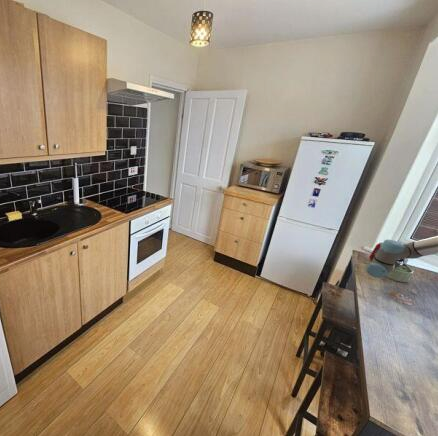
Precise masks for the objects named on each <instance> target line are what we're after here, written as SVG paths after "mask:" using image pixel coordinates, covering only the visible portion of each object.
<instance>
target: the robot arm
mask: <svg viewBox="0 0 438 436" xmlns="http://www.w3.org/2000/svg"><path fill="white" fill-rule="evenodd" d="M381 243H382V245H381V246H380V248H379V250H378V252H377V253H376V254H375V256H374V258H373V260H371V261H370V263H368V264H367V266H366V268H365V270H366V273H367V274H368V275H369V276H370V277H373V278H375V279H382V278H384V277H385V276H386V275H387V274H388V273H389V272H391V271H392V270H393V269H395V268H396V267H399V266H400V267H402V268H403V269H406V267H407V266H409V265H408V262H409V259H411V260H412V259H413V260H414V259H420V258H421V257H426V256H433V255H437V254H438V235H436V236H433V237H428V238H424V239H420V240H415V241H411V242H406V243H402V242H400V241H398V240H394V239H384V241H383V242H381ZM399 262H400V263H402V264H400V263H399Z"/></svg>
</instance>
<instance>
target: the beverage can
mask: <svg viewBox="0 0 438 436" xmlns="http://www.w3.org/2000/svg"><path fill="white" fill-rule="evenodd" d="M382 243H383V242H379V243H377V244H376V245H375V247H373V249H372V252H371V253H370V255H369V257H368V258H369V260H370V261H372V260H373V258H374V256H375V254H376V253H377V252H378V250H379V248H380V246H381V245H382Z"/></svg>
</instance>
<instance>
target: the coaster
mask: <svg viewBox="0 0 438 436" xmlns="http://www.w3.org/2000/svg"><path fill="white" fill-rule="evenodd" d="M388 295H389V296H390V297H391V298H392V299H393V300H394V301H397V302H399V303H401V304H404V305H408V306H413V305H414V301H413V300H411V298H409V297H407V296H406V295H403V294H402V293H398V292H395V291H388Z"/></svg>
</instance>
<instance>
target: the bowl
mask: <svg viewBox="0 0 438 436" xmlns="http://www.w3.org/2000/svg"><path fill="white" fill-rule="evenodd" d="M399 263H400V264H402V263H403V262H399ZM414 273H415V271H414V269H413V268H411V267H410V266H409V265H408V266H407V267H406V269H403V268H402V267H400V266H399V267H396V268H395V269H393V270H392V271H391V272H389V273H388V274H387V275H386V276H384V277H386V278H388V279H389V280H392V281H396V282H399V283H407V282H409V281H410V279H411V278H412V277H413V275H414Z"/></svg>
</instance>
